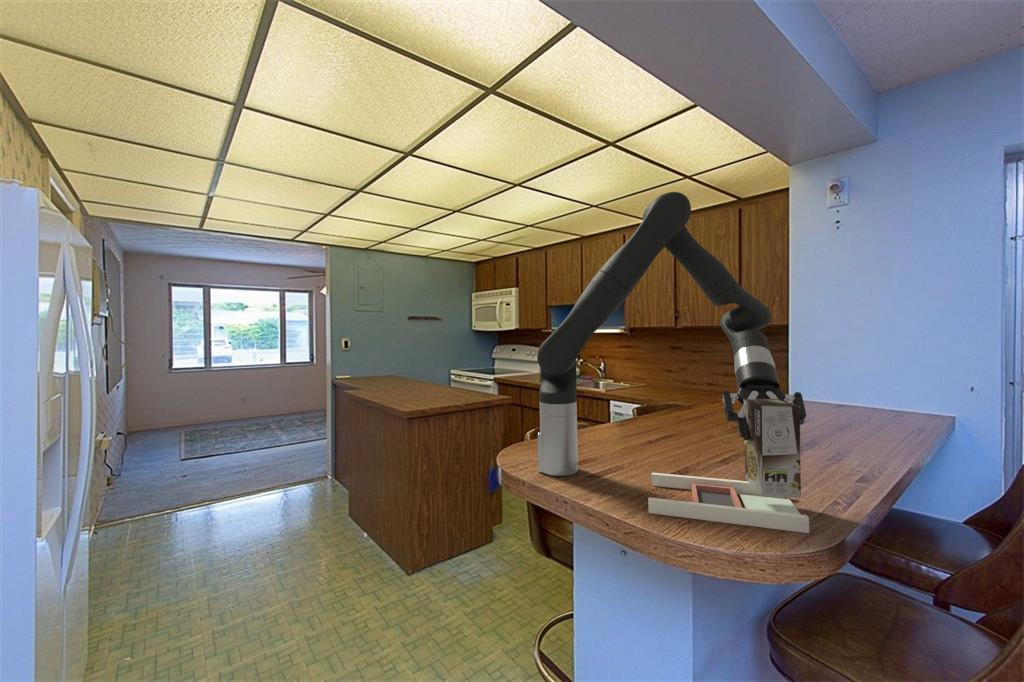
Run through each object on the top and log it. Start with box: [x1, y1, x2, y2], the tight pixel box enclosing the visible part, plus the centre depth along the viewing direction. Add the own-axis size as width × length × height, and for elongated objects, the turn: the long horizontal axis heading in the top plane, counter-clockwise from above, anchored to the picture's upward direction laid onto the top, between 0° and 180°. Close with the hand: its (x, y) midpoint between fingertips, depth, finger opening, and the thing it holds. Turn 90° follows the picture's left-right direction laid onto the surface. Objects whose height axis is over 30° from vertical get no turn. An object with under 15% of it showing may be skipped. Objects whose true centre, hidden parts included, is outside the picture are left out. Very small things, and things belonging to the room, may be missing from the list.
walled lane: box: [647, 472, 810, 534], centre depth 79 cm, size 25×16×2 cm, turn 69°
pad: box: [739, 494, 801, 514], centre depth 76 cm, size 9×12×1 cm
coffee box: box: [744, 399, 802, 499], centre depth 76 cm, size 9×6×16 cm
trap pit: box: [691, 483, 743, 508], centre depth 79 cm, size 8×13×2 cm, turn 159°
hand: (769, 439), depth 76 cm, fingers closed on coffee box, 7 cm apart
